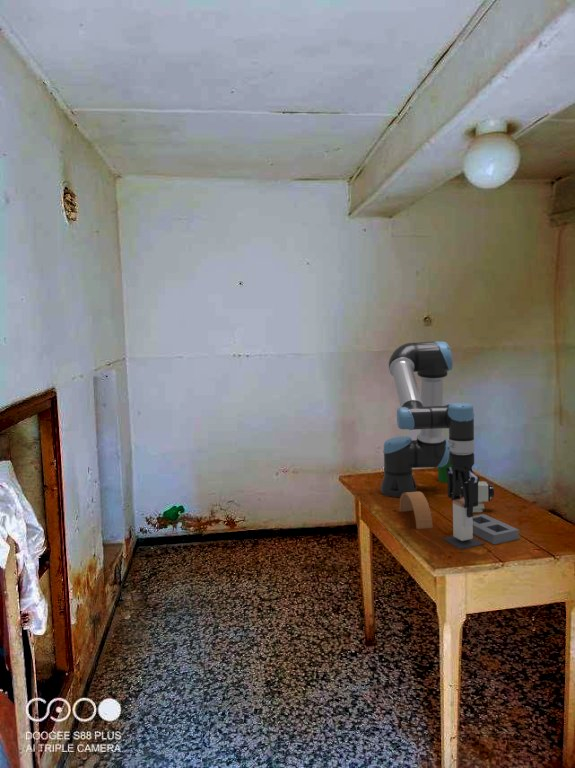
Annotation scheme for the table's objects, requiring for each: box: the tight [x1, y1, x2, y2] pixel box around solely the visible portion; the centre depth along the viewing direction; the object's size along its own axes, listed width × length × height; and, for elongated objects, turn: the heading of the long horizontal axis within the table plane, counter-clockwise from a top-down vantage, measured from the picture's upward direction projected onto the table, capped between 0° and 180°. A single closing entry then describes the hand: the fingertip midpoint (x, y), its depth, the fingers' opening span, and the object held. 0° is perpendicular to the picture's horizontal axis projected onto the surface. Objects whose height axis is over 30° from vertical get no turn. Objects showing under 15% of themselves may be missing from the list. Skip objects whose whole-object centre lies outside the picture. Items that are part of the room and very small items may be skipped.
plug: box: [452, 497, 474, 541], centre depth 161 cm, size 4×4×12 cm
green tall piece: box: [437, 440, 452, 484], centre depth 228 cm, size 10×9×20 cm
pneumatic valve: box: [460, 480, 495, 514], centre depth 189 cm, size 6×12×12 cm, turn 78°
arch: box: [398, 490, 434, 530], centre depth 184 cm, size 6×20×10 cm, turn 4°
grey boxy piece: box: [473, 513, 520, 545], centre depth 168 cm, size 16×10×4 cm, turn 20°
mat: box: [442, 535, 485, 550], centre depth 162 cm, size 9×9×1 cm
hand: (462, 523), depth 161 cm, fingers closed on plug, 4 cm apart
